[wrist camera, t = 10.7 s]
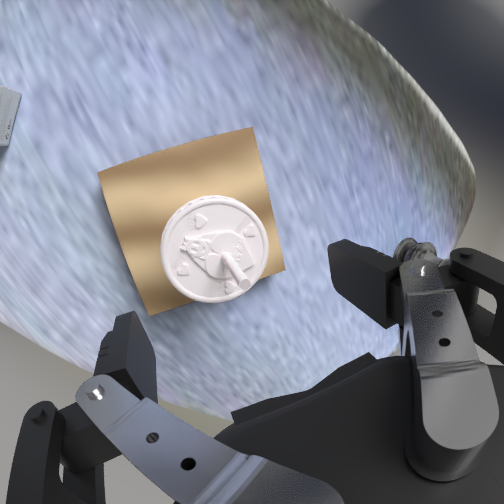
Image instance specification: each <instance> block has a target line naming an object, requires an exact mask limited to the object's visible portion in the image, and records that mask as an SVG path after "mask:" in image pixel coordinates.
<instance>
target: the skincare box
mask: <svg viewBox="0 0 504 504" xmlns="http://www.w3.org/2000/svg"><path fill="white" fill-rule="evenodd" d="M21 96H22V95H21V93H20V92H17V91H15V90H12V89H9V88H7V87H4V86H1V85H0V146H8V145H9V141H10V136H11V131H12V127H13V123H14V119H15V116H16V113H17V109H18V106H19V102H20V99H21Z"/></svg>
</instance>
